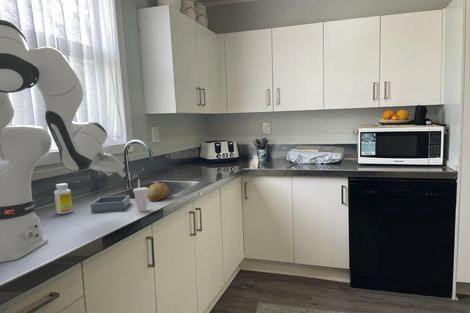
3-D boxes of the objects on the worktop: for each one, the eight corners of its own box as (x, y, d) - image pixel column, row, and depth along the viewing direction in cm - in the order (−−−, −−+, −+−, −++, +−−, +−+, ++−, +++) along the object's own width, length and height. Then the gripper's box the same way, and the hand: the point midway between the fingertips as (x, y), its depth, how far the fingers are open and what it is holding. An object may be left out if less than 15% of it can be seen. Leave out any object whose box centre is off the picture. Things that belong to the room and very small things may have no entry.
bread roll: (172, 195, 182) (171, 180, 182) (163, 202, 168) (161, 185, 167) (155, 195, 184) (154, 180, 183) (144, 202, 169) (142, 186, 168)
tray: (124, 210, 154) (123, 201, 153) (91, 213, 152) (90, 204, 152) (130, 203, 167) (129, 195, 167) (100, 205, 166) (99, 197, 165)
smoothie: (134, 209, 154) (131, 178, 153) (148, 207, 157) (146, 177, 155) (135, 213, 148) (132, 180, 147) (150, 211, 151) (148, 179, 149)
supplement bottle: (76, 210, 158) (73, 182, 156) (65, 214, 151) (62, 185, 150) (63, 210, 160) (61, 182, 158) (52, 214, 153) (49, 185, 152)
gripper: (112, 147, 128) (136, 170, 137) (84, 147, 141) (108, 167, 150) (102, 161, 125) (127, 183, 134) (74, 159, 138) (99, 179, 147)
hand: (117, 175), depth 142 cm, fingers open, 8 cm apart
